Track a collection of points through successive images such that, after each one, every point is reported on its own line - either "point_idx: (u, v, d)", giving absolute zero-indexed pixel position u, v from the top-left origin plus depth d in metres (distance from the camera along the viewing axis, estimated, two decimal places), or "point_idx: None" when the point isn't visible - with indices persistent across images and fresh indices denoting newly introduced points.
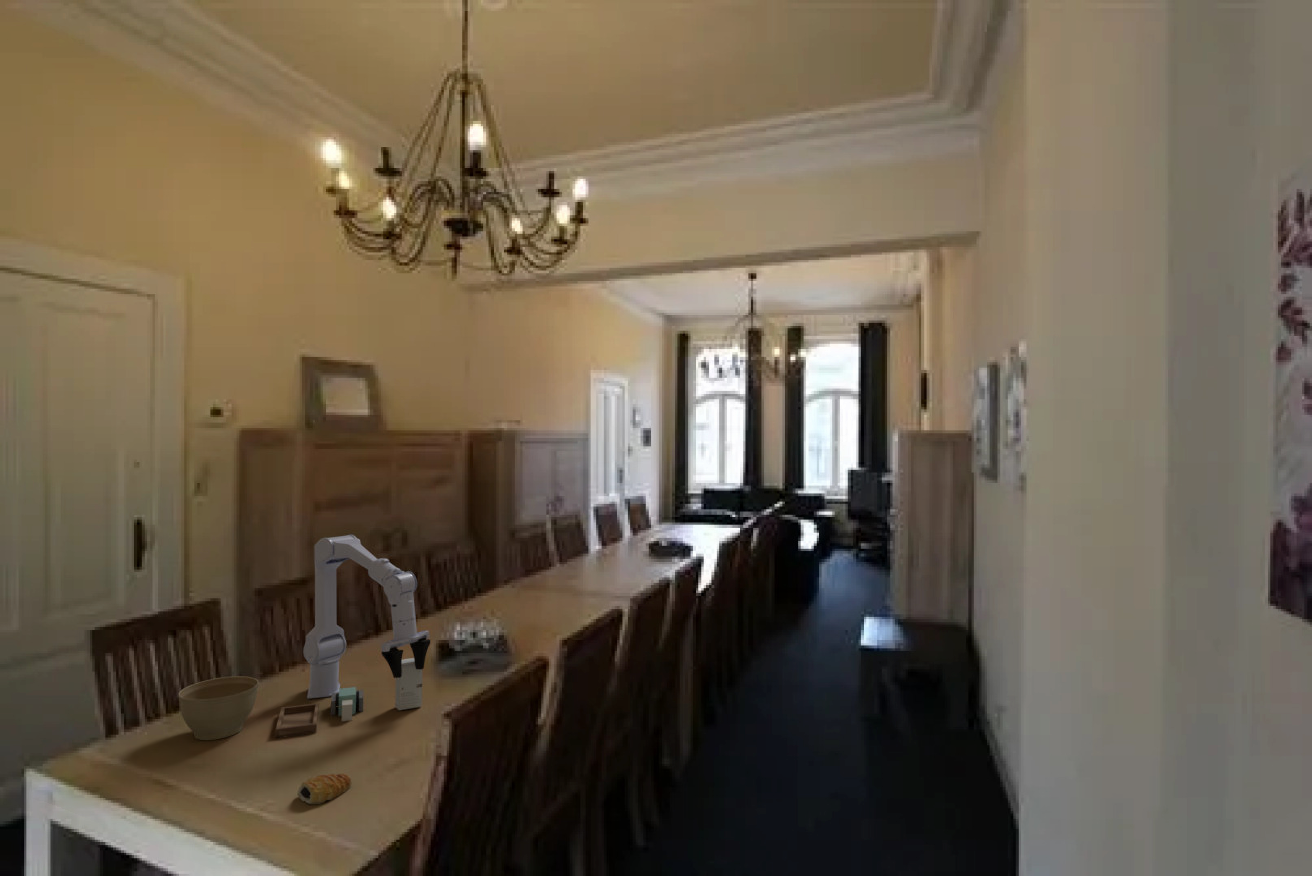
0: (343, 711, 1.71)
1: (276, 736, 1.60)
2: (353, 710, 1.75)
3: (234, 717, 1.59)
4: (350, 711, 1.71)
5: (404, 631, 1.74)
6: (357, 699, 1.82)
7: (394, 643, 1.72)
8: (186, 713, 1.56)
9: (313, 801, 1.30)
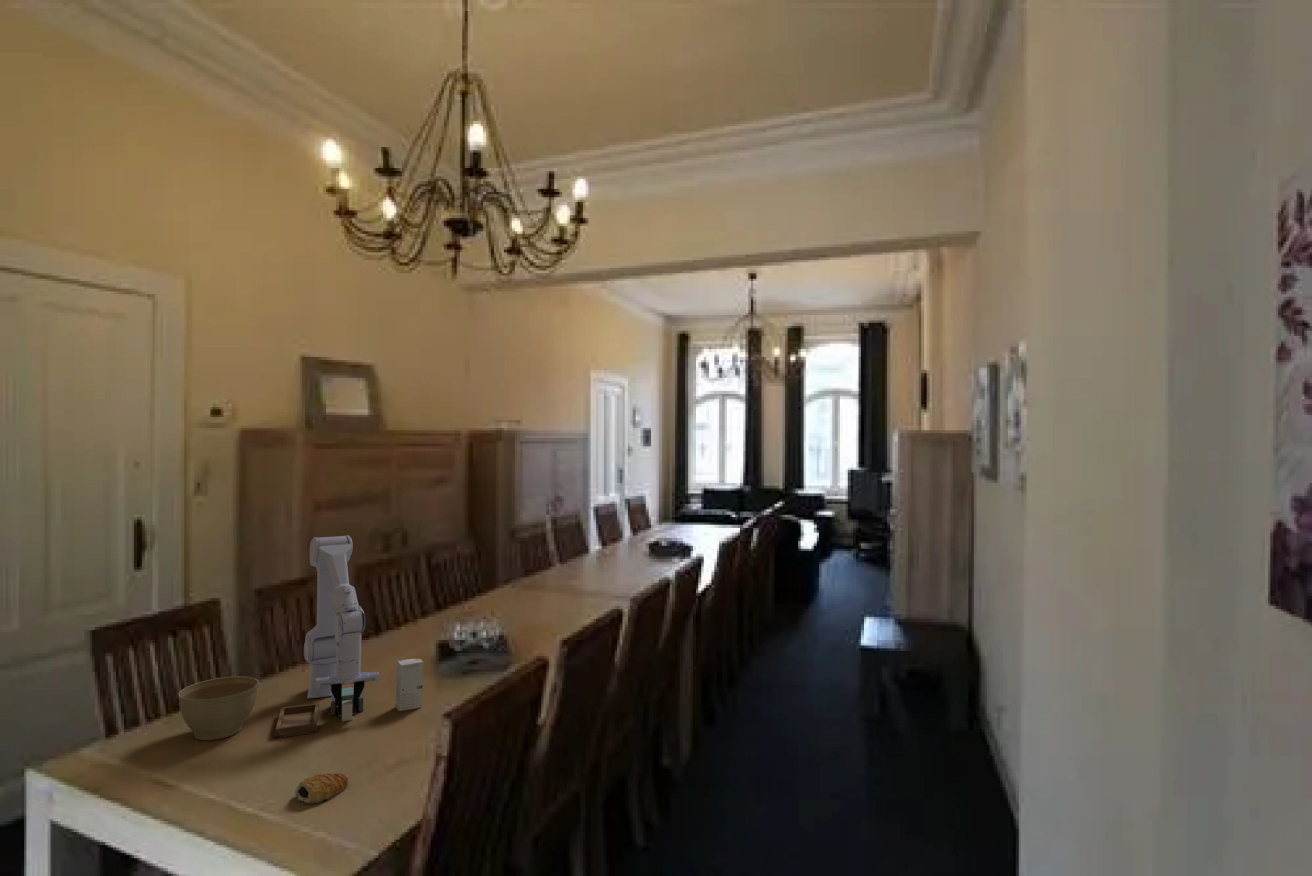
0: (343, 711, 1.71)
1: (276, 736, 1.60)
2: None
3: (234, 717, 1.59)
4: (350, 711, 1.71)
5: (339, 672, 1.70)
6: None
7: (325, 682, 1.69)
8: (186, 713, 1.56)
9: (311, 800, 1.31)
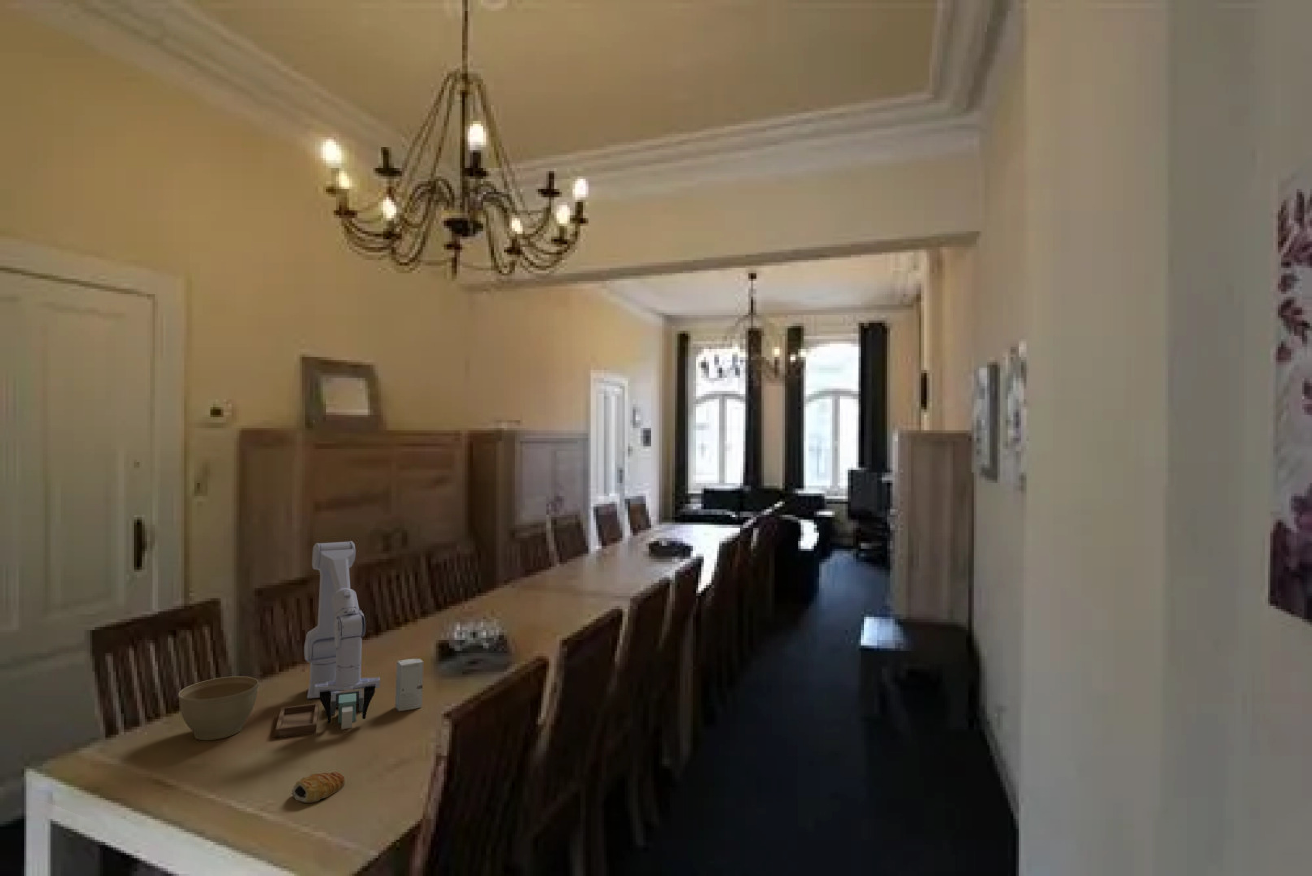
0: (343, 718, 1.66)
1: (276, 736, 1.60)
2: (353, 717, 1.71)
3: (234, 717, 1.59)
4: (350, 718, 1.67)
5: (339, 678, 1.65)
6: (357, 699, 1.82)
7: (325, 688, 1.64)
8: (186, 713, 1.56)
9: (308, 800, 1.31)
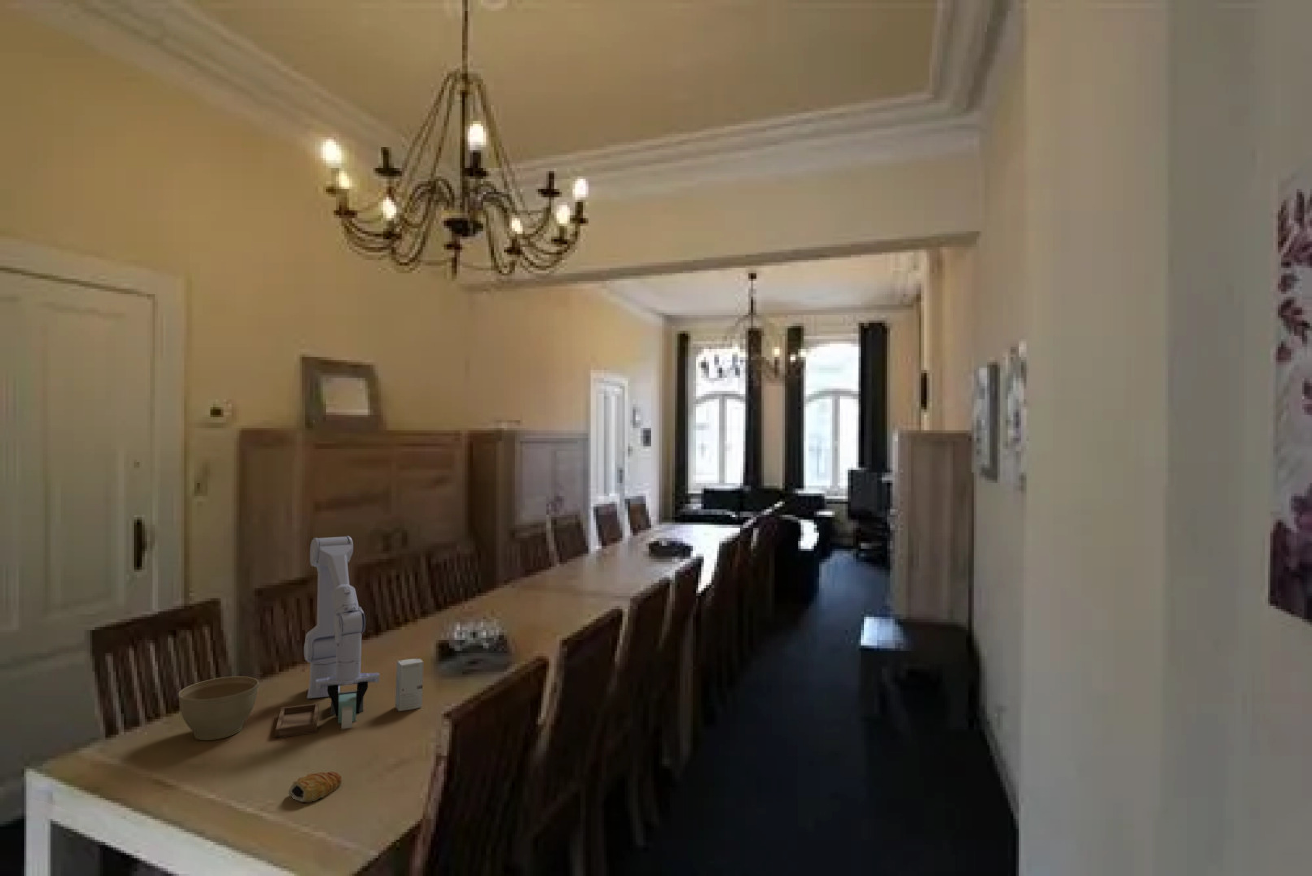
0: (343, 718, 1.66)
1: (276, 736, 1.60)
2: (353, 717, 1.71)
3: (234, 717, 1.59)
4: (350, 718, 1.67)
5: (339, 673, 1.70)
6: None
7: (325, 682, 1.69)
8: (186, 713, 1.56)
9: (306, 799, 1.31)
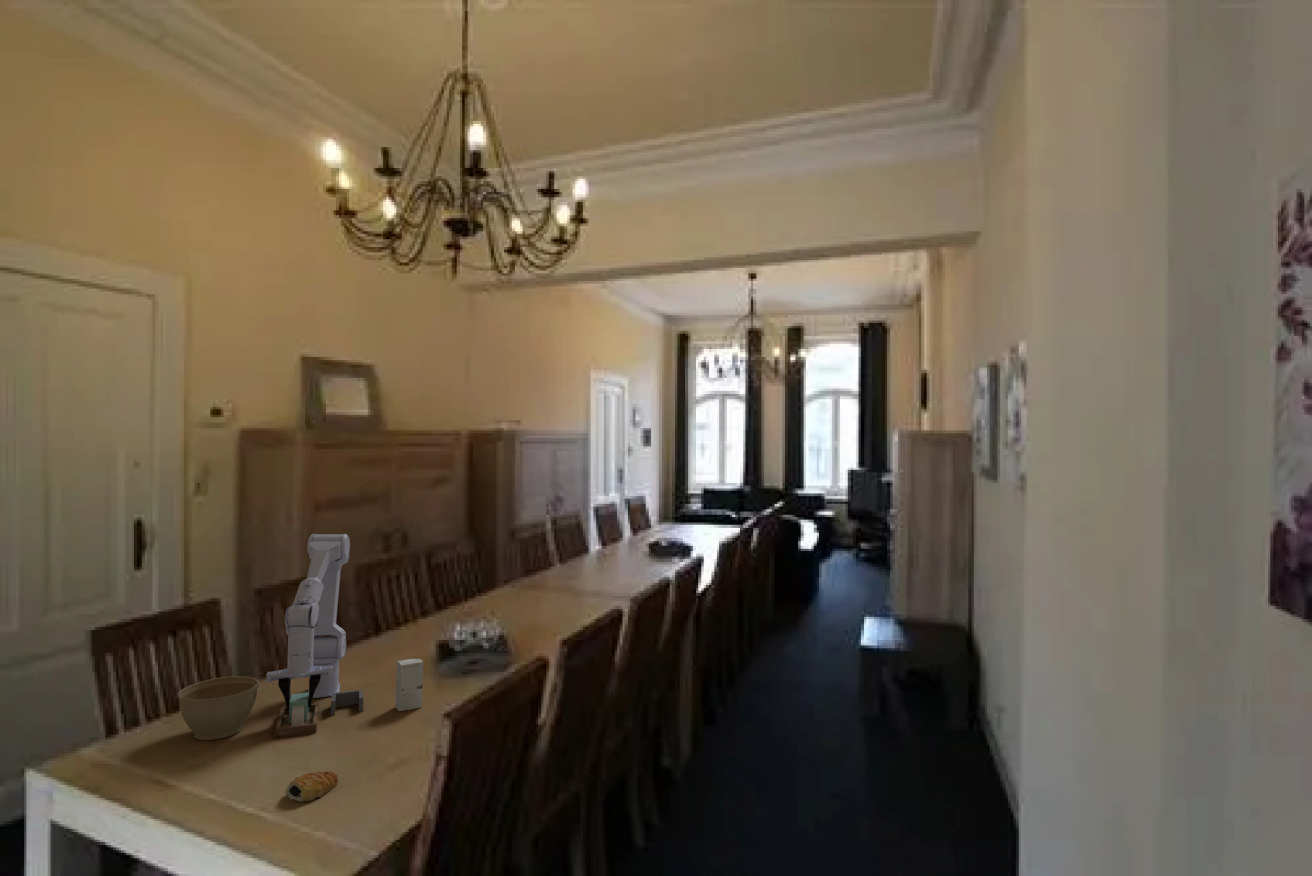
0: (293, 718, 1.64)
1: (276, 736, 1.60)
2: (305, 716, 1.69)
3: (234, 717, 1.59)
4: (300, 718, 1.65)
5: (290, 666, 1.68)
6: (357, 699, 1.82)
7: (276, 675, 1.67)
8: (186, 713, 1.56)
9: (304, 799, 1.31)
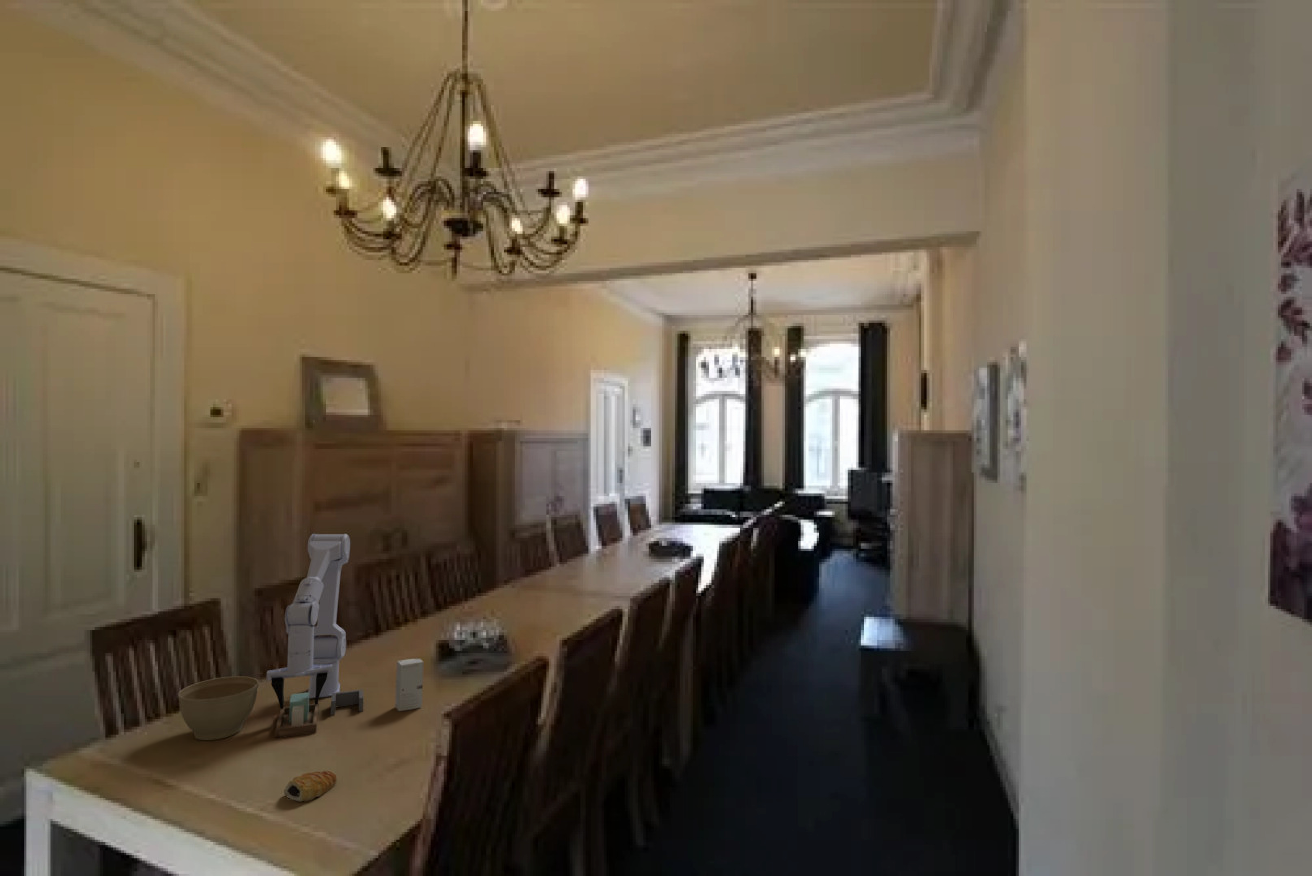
0: (293, 718, 1.64)
1: (276, 736, 1.60)
2: (305, 716, 1.69)
3: (234, 717, 1.59)
4: (300, 718, 1.65)
5: (290, 664, 1.68)
6: (357, 699, 1.82)
7: (276, 674, 1.67)
8: (186, 713, 1.56)
9: (303, 798, 1.31)
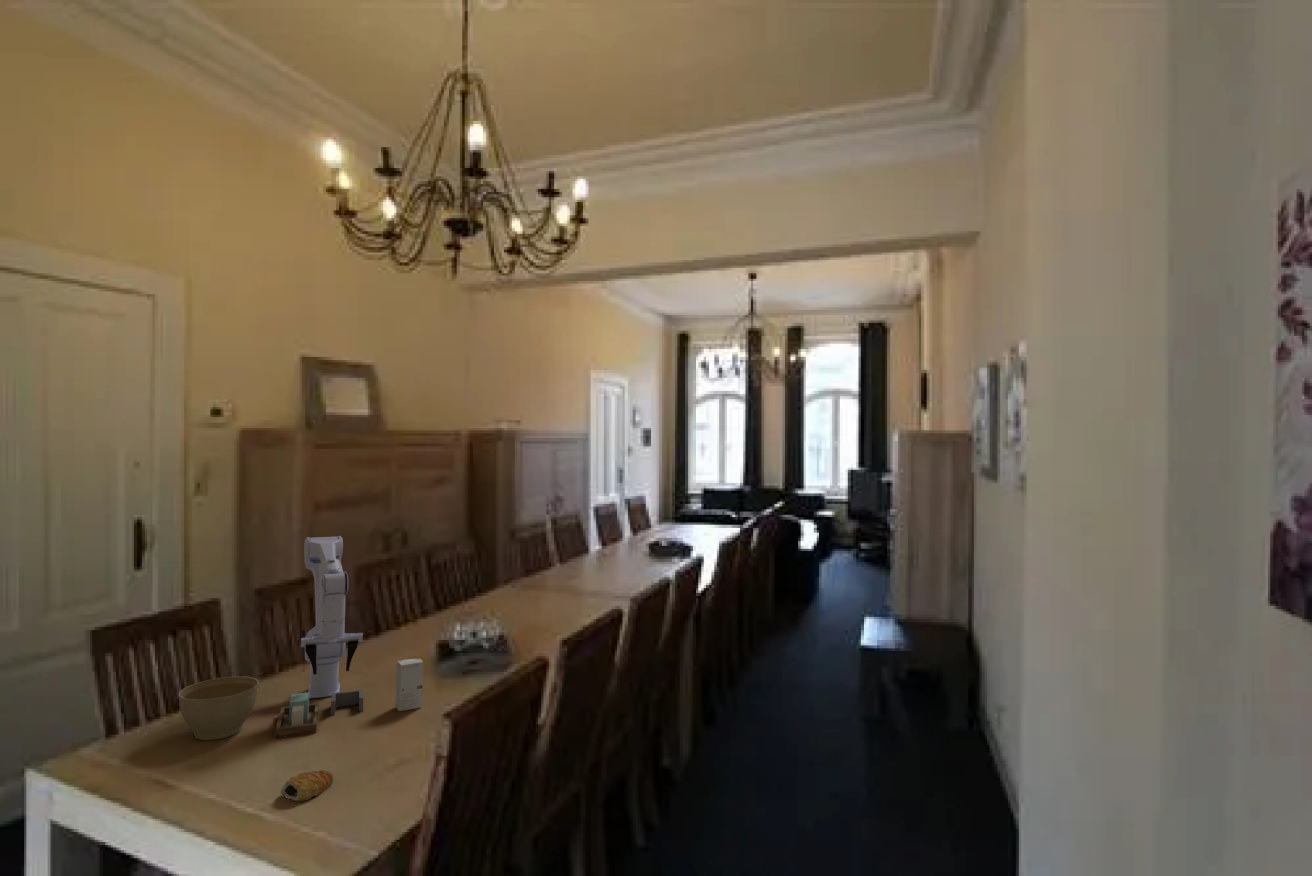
0: (293, 718, 1.64)
1: (276, 736, 1.60)
2: (305, 716, 1.69)
3: (234, 717, 1.59)
4: (300, 718, 1.65)
5: (323, 632, 1.76)
6: (357, 699, 1.82)
7: (310, 641, 1.75)
8: (186, 713, 1.56)
9: (300, 798, 1.32)
